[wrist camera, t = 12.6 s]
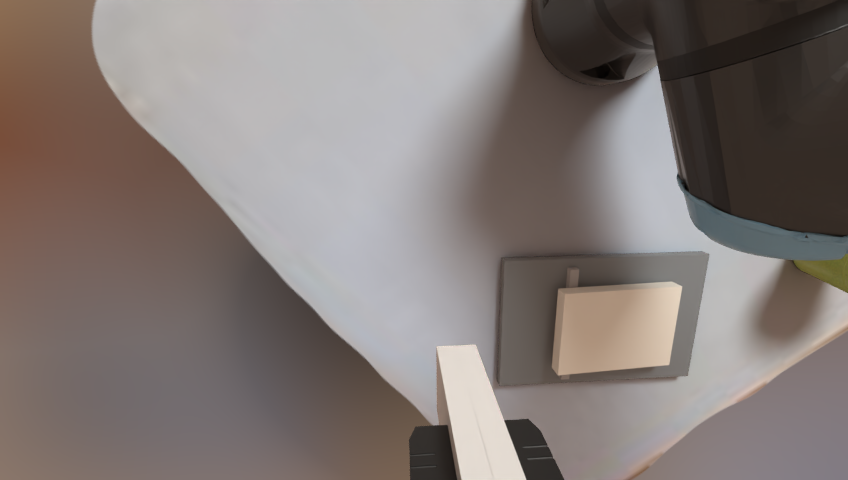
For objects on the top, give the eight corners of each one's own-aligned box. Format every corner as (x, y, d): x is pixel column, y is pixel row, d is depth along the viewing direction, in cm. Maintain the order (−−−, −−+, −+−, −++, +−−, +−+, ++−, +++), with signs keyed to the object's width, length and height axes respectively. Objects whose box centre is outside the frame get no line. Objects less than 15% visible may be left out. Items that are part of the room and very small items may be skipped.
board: (497, 380, 50) (501, 390, 48) (501, 258, 45) (506, 263, 43) (680, 370, 51) (692, 379, 49) (701, 251, 47) (714, 256, 45)
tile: (558, 375, 45) (669, 365, 47) (565, 294, 43) (682, 286, 45) (551, 366, 47) (658, 357, 49) (557, 288, 44) (670, 281, 46)
